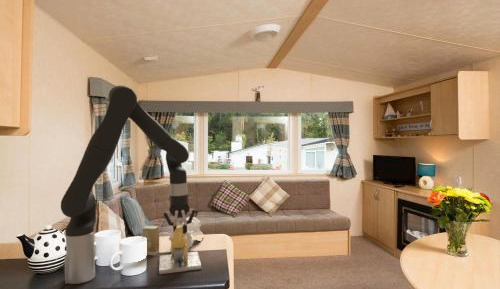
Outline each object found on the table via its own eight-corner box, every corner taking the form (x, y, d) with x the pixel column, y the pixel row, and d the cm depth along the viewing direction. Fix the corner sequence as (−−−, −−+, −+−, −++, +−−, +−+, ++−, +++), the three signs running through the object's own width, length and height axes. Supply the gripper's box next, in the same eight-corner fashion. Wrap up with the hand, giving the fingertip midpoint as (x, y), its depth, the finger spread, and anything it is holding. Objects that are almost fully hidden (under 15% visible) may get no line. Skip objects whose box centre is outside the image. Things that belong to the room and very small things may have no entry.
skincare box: (142, 255, 139) (141, 228, 139) (147, 251, 143) (146, 225, 143) (155, 255, 138) (155, 228, 138) (160, 252, 142) (159, 225, 142)
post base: (159, 274, 118) (158, 249, 118) (160, 259, 134) (159, 237, 134) (201, 268, 122) (200, 245, 122) (197, 254, 138) (196, 233, 138)
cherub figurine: (164, 227, 145) (180, 213, 165) (167, 253, 146) (183, 235, 166) (191, 227, 143) (204, 212, 162) (193, 253, 144) (206, 235, 164)
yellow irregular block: (185, 249, 122) (184, 232, 122) (168, 250, 122) (168, 232, 122) (188, 240, 134) (188, 223, 134) (173, 240, 134) (173, 224, 134)
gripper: (161, 196, 126) (163, 238, 126) (196, 193, 130) (198, 234, 130) (161, 193, 133) (163, 233, 134) (194, 190, 137) (196, 229, 137)
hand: (180, 233), depth 132 cm, fingers closed on yellow irregular block, 3 cm apart
